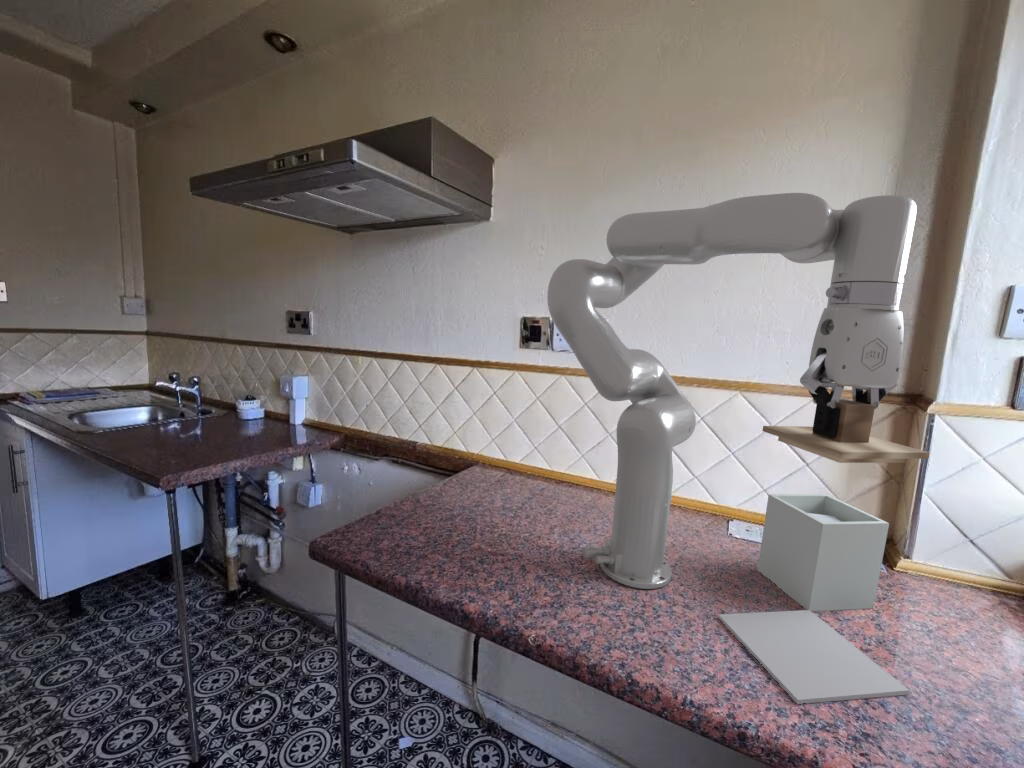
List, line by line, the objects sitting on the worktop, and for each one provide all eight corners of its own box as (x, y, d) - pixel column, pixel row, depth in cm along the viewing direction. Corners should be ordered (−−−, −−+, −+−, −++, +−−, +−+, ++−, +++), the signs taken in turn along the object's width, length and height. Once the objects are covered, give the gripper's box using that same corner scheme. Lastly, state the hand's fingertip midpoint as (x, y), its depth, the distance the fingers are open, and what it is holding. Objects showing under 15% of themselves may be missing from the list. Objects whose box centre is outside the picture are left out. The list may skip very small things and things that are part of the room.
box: (808, 611, 74) (823, 524, 72) (757, 570, 86) (768, 494, 83) (873, 608, 76) (889, 523, 74) (814, 568, 88) (826, 494, 85)
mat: (797, 704, 55) (797, 699, 55) (718, 618, 71) (718, 614, 71) (908, 694, 58) (909, 690, 58) (808, 613, 73) (809, 609, 73)
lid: (840, 466, 54) (849, 411, 53) (761, 437, 67) (768, 392, 66) (926, 466, 57) (937, 413, 56) (835, 438, 70) (842, 394, 69)
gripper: (833, 293, 54) (809, 442, 56) (946, 302, 57) (918, 443, 60) (784, 295, 61) (765, 427, 64) (887, 303, 64) (865, 429, 67)
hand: (840, 434), depth 62 cm, fingers closed on lid, 4 cm apart
